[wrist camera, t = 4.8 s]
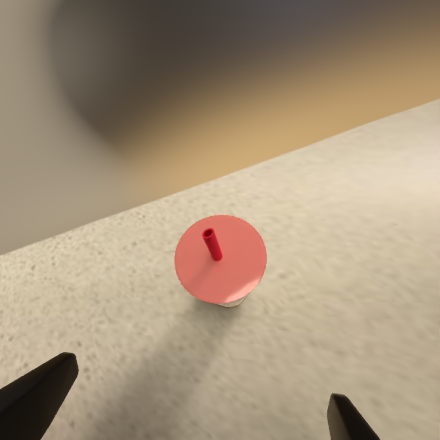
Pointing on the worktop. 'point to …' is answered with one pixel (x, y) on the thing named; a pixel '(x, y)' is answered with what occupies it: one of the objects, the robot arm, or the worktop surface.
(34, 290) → the worktop surface
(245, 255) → the cup
